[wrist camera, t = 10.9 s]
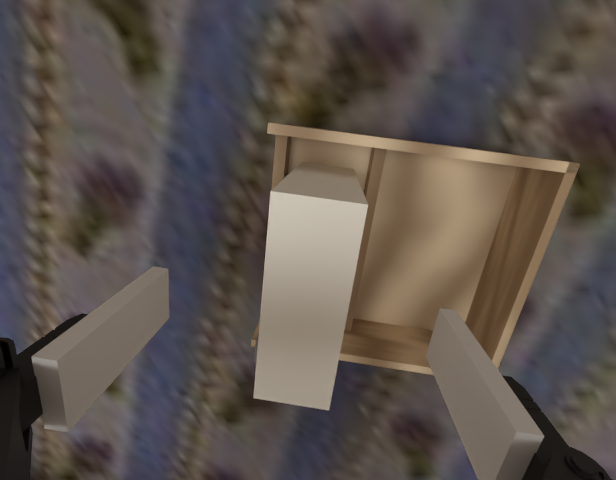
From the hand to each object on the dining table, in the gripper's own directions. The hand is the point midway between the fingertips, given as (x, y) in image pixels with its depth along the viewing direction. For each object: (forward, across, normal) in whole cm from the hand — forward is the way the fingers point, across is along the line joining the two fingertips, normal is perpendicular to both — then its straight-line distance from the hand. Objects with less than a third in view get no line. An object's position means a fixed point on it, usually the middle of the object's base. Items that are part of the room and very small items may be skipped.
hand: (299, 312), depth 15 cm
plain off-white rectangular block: (+11, 0, 0) cm, 11 cm away
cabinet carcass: (+12, +6, +1) cm, 14 cm away
